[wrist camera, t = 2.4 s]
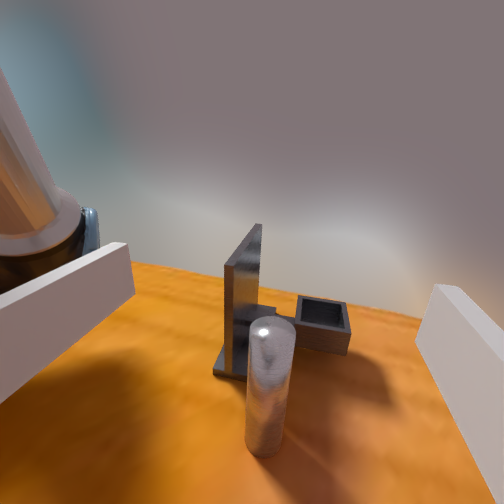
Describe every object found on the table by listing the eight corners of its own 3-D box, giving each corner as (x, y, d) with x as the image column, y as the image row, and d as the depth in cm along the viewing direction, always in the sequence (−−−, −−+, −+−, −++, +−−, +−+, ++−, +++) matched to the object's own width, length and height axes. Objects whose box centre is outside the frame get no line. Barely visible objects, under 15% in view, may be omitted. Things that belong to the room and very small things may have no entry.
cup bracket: (212, 374, 39) (210, 262, 32) (243, 306, 55) (246, 222, 48) (344, 404, 35) (375, 286, 28) (335, 322, 52) (354, 234, 44)
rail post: (240, 452, 29) (244, 341, 23) (249, 415, 33) (255, 312, 27) (278, 463, 29) (294, 351, 22) (283, 424, 33) (297, 320, 26)
